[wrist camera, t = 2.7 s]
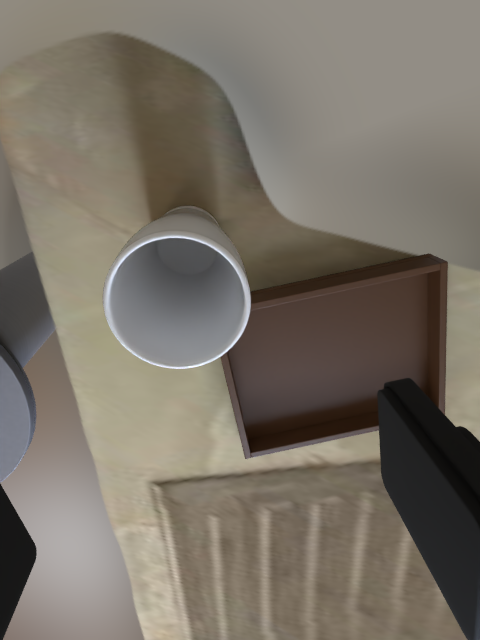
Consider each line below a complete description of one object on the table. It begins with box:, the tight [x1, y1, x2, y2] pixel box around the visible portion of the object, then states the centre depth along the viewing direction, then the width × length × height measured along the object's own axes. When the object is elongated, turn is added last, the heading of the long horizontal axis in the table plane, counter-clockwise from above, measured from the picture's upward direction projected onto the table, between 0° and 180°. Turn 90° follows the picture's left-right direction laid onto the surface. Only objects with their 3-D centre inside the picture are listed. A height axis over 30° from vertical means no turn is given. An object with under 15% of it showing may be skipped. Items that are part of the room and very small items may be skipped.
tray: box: [221, 254, 448, 459], centre depth 35 cm, size 19×15×3 cm
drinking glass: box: [103, 206, 251, 369], centre depth 25 cm, size 7×7×15 cm
